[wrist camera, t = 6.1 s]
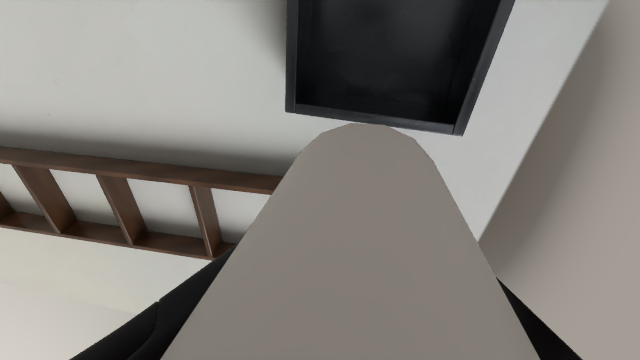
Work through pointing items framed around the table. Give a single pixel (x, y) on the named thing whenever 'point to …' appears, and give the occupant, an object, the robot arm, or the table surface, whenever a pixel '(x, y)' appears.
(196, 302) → the robot arm
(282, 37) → the table surface
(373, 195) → the white coffee cup
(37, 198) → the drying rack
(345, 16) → the open box
